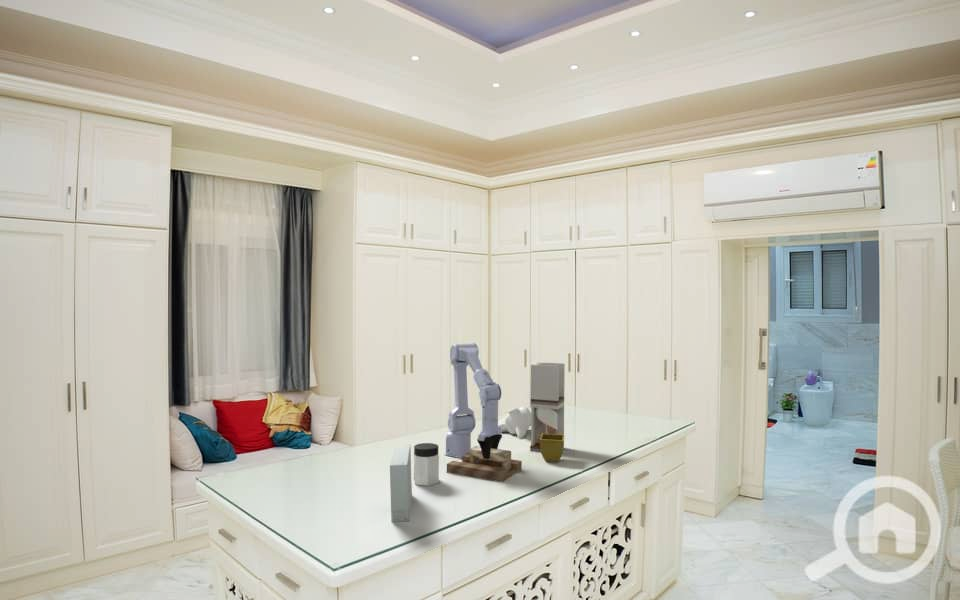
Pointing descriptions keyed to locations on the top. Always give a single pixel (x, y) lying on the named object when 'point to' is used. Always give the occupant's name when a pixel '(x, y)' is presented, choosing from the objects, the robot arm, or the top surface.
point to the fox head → (516, 421)
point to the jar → (426, 464)
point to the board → (484, 468)
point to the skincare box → (400, 483)
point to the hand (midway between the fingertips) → (489, 456)
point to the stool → (491, 456)
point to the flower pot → (551, 447)
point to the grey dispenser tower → (546, 401)
